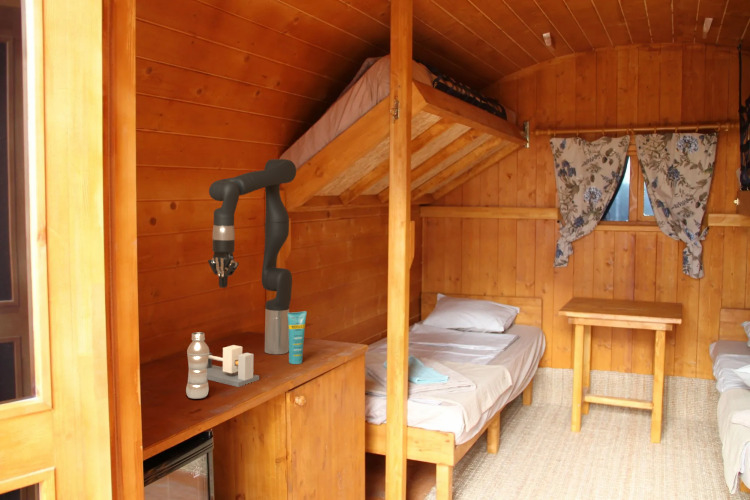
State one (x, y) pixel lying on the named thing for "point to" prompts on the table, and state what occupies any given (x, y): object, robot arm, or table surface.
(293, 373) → the table surface
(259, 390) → the table surface
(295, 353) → the tube
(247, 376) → the rod slider fixture
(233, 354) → the sleeve
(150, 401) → the table surface
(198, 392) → the plastic bottle
